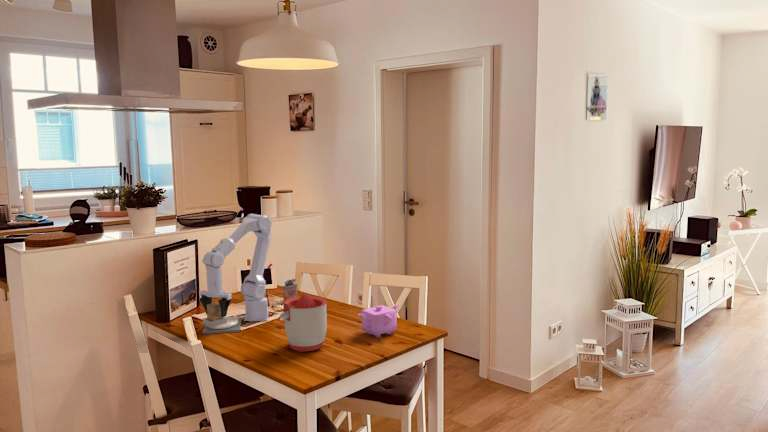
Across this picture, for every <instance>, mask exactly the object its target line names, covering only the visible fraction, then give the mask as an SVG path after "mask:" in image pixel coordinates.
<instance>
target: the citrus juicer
mask: <svg viewBox="0 0 768 432" xmlns="http://www.w3.org/2000/svg"><path fill="white" fill-rule="evenodd" d="M327 303H328V301H327V299H326V298H324V297H321V296H315V295H309V294H307V293H303V294H302V295H301V296H297V297H294V298H290V299H288V300H286V301H284V302H283V303H282V305H283V312H282V313H281V314H279V320H280V321H282V322H283V321H284V328H285V329H284V331H285V334H286V335H285V336H286V338H287V343H288V346H289V347H290V348H291V349H292V350H293V351H297V352H300V353H304V352H311V351H316V350H319V349H321V348H322V347H323V345H324V343H325V338H326V335H327V329H328V324H327V323H328V320H327V319H328V318H327V314H328V313H327V312H328V311H327Z"/></svg>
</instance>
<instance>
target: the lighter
mask: <svg viewBox="0 0 768 432" xmlns="http://www.w3.org/2000/svg"><path fill="white" fill-rule="evenodd" d="M282 289H283V290H282V291H283V293H282V295H283V303H284V301H286V300H288V299H290V298H294V297H298V283H297V281H296V278H292V279H287V280H286V281H284V285H283V286H282Z"/></svg>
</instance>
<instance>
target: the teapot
mask: <svg viewBox="0 0 768 432" xmlns="http://www.w3.org/2000/svg"><path fill="white" fill-rule="evenodd" d="M398 307H400V304H395V305H393V307H389V306H386V305H375V306H373V307H369V308H366V309H361V313H358V314H357V316H360V317H361V330H362V331H363V332H366V334H367V335H372V336H374V337H375V338H382V335H383V334H386V335H392V332H394V331H398V328H397V327H398V325H397V324H398V323H397V319H398V318H397V308H398Z"/></svg>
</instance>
